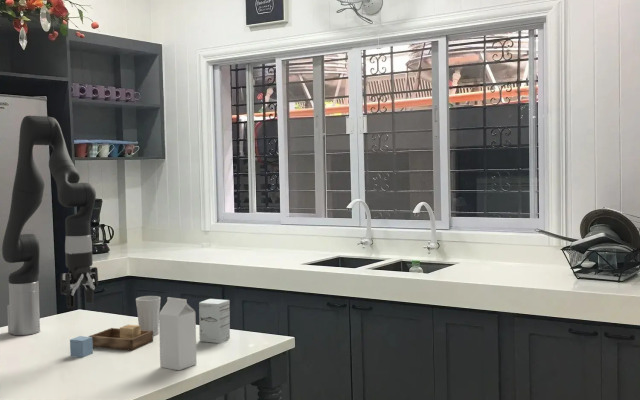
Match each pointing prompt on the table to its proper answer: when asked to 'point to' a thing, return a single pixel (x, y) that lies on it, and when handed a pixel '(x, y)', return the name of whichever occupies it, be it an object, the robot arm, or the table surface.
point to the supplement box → (214, 320)
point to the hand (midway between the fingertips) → (80, 305)
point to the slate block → (81, 346)
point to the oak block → (130, 331)
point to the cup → (148, 313)
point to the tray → (120, 340)
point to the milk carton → (177, 334)
